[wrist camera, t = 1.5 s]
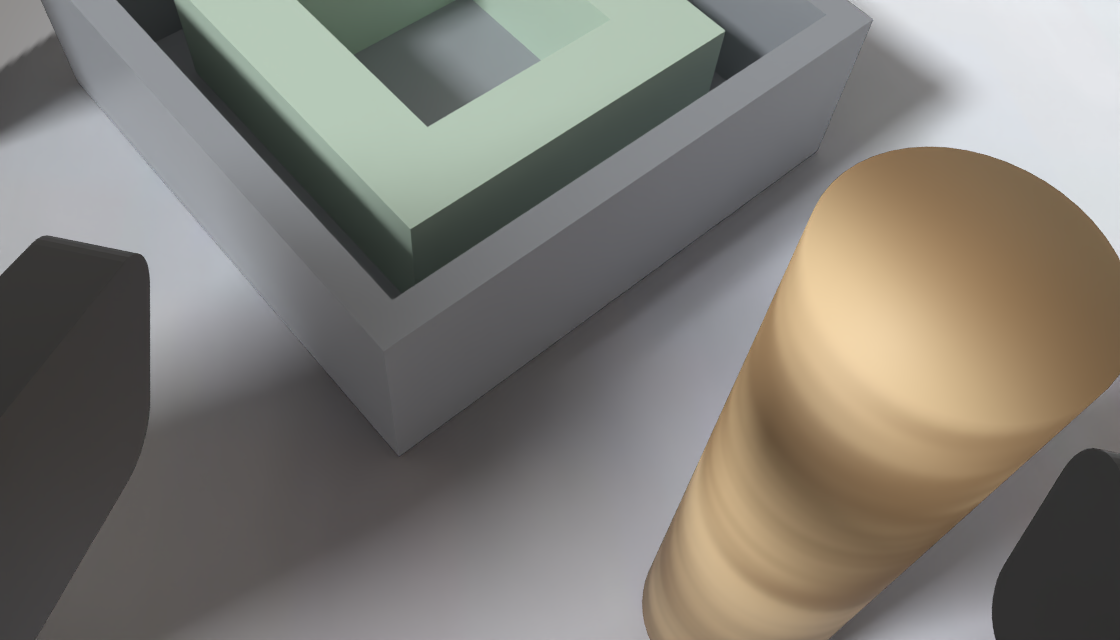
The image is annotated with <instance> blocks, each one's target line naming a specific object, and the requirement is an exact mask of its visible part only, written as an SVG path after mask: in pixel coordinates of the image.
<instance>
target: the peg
mask: <svg viewBox="0 0 1120 640" xmlns="http://www.w3.org/2000/svg"><path fill="white" fill-rule="evenodd" d="M1119 374H1120V260H1119V258H1118V256H1117V254H1116V252H1115V251H1114V249H1113V248H1112V246H1111V244H1110V243H1109V241H1108V240H1107V238H1106V237H1105V236H1104V234H1103V233H1102V232H1101V231H1100V229H1099V228H1098V227H1097V226H1096V224H1095V223H1094V222H1093V221H1092V220H1091V219H1090V218H1089V217H1088V216H1087V215H1086V214H1085V213H1084V212H1083V211H1082V210H1081V209H1080V208H1079V207H1078V206H1077V205H1076V204H1075V203H1073V202H1072V201H1071V200H1070V199H1069V198H1067V197H1066V196H1065V195H1064V194H1063V193H1061V192H1060V191H1058V190H1057V189H1055V188H1054V187H1053V186H1051V185H1050V184H1048V183H1047V182H1045V181H1044V180H1042V179H1040V178H1038V177H1036V176H1035V175H1033V174H1031V173H1029V172H1027V171H1026V170H1023V169H1021V168H1019V167H1017V166H1014V165H1012V164H1010V163H1008V162H1005V161H1002V160H999V159H996V158H993V157H991V156H988V155H984V154H980V153H976V152H971V151H967V150H961V149H954V148H946V147H914V148H905V149H899V150H894V151H889V152H886V153H882V154H879V155H876V156H873V157H871V158H869V159H866V160H864V161H862V162H860V163H858V164H856V165H855V166H853V167H851V168H850V169H848V170H847V171H845V172H844V173H843V174H841V175H840V176H839V177H838V178H837V179H836V180H835V181H834V182H832V183H831V185H830V186H829V187H828V188H827V190H826V191H825V192H824V193H823V194H822V196H821V197H820V199H819V201H818V203H817V205H816V206H815V208H814V210H813V212H812V214H811V216H810V219H809V221H808V223H807V225H806V227H805V230H804V232H803V234H802V236H801V238H800V241H799V243H798V245H797V247H796V249H795V252H794V254H793V256H792V258H791V260H790V263H789V265H788V267H787V269H786V271H785V274H784V276H783V278H782V280H781V282H780V285H779V287H778V289H777V291H776V293H775V295H774V298H773V300H772V302H771V304H770V306H769V309H768V311H767V313H766V315H765V317H764V320H763V322H762V324H761V326H760V328H759V331H758V333H757V335H756V337H755V339H754V342H753V344H752V346H751V348H750V350H749V353H748V355H747V357H746V359H745V361H744V364H743V366H742V368H741V370H740V372H739V375H738V377H737V379H736V381H735V383H734V386H733V388H732V390H731V392H730V394H729V396H728V399H727V401H726V403H725V405H724V407H723V410H722V412H721V414H720V416H719V418H718V421H717V423H716V425H715V427H714V429H713V432H712V434H711V436H710V438H709V440H708V443H707V445H706V447H705V449H704V451H703V454H702V456H701V458H700V460H699V462H698V465H697V467H696V469H695V471H694V473H693V476H692V478H691V480H690V482H689V484H688V487H687V489H686V491H685V493H684V495H683V497H682V500H681V502H680V504H679V506H678V508H677V511H676V513H675V515H674V517H673V519H672V522H671V524H670V526H669V528H668V530H667V533H666V535H665V537H664V539H663V541H662V544H661V546H660V548H659V550H658V552H657V555H656V557H655V559H654V561H653V563H652V566H651V568H650V570H649V572H648V575H647V578H646V581H645V585H644V589H643V599H642V607H643V617H644V623H645V627H646V630H647V633H648V636H649V638H650V640H828V639H829V638H830V637H832V636H833V635H834V634H835V633H836V632H837V631H838V630H839V629H840V628H842V627H843V626H844V625H845V624H846V623H847V622H848V621H849V620H851V619H852V618H853V617H854V616H855V615H856V614H857V613H858V612H859V611H861V610H862V609H863V608H864V607H865V606H866V605H867V604H868V603H869V602H871V601H872V600H873V599H874V598H875V597H876V596H877V595H878V594H879V593H881V592H882V591H883V590H884V589H885V588H886V587H887V586H888V585H890V584H891V583H892V582H893V581H894V580H895V579H896V578H897V577H898V576H900V575H901V574H902V573H903V572H904V571H905V570H906V569H907V568H908V567H910V566H911V565H912V564H913V563H914V562H915V561H916V560H917V559H918V558H920V557H921V556H922V555H923V554H924V553H925V552H926V551H927V550H929V549H930V548H931V547H932V546H933V545H934V544H935V543H936V542H937V541H939V540H940V539H941V538H942V537H943V536H944V535H945V534H946V533H947V532H949V531H950V530H951V529H952V528H953V527H954V526H955V525H956V524H957V523H959V522H960V521H961V520H962V519H963V518H964V517H965V516H966V515H968V514H969V513H970V512H971V511H972V510H973V509H974V508H975V507H976V506H978V505H979V504H980V503H981V502H982V501H983V500H984V499H985V498H986V497H988V496H989V495H990V494H991V493H992V492H993V491H994V490H995V489H997V488H998V487H999V486H1000V485H1001V484H1002V483H1003V482H1004V481H1005V480H1007V479H1008V478H1009V477H1010V476H1011V475H1012V474H1013V473H1014V472H1015V471H1017V470H1018V469H1019V468H1020V467H1021V466H1022V465H1023V464H1024V463H1025V462H1027V461H1028V460H1029V459H1030V458H1031V457H1032V456H1033V455H1034V454H1036V453H1037V452H1038V451H1039V450H1040V449H1041V448H1042V447H1043V446H1044V445H1046V444H1047V443H1048V442H1049V441H1050V440H1051V439H1052V438H1053V437H1054V436H1056V435H1057V434H1058V433H1059V432H1060V431H1061V430H1062V429H1063V428H1064V427H1066V426H1067V425H1068V424H1069V423H1070V422H1071V421H1072V420H1073V419H1075V418H1076V417H1077V416H1078V415H1079V414H1080V413H1081V412H1082V411H1083V410H1085V409H1086V408H1087V407H1088V406H1089V405H1090V404H1091V403H1092V402H1093V401H1095V400H1096V399H1097V398H1098V397H1099V396H1100V395H1101V394H1102V393H1103V392H1105V391H1106V390H1107V389H1108V388H1109V387H1110V386H1111V384H1112V383H1113V382H1114V381H1115V379H1116V378H1117V377H1118V376H1119Z"/></svg>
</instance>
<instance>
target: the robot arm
mask: <svg viewBox="0 0 1120 640" xmlns="http://www.w3.org/2000/svg"><path fill="white" fill-rule="evenodd" d="M149 411H150V277H149V269H148V265H147V262H146V260H145V258H144V257H143V256H142V255H141V254H137V253H132V252H127V251H122V250H117V249H112V248H107V247H102V246H98V245H93V244H88V243H83V242H78V241H73V240H68V239H63V238H58V237H53V236H42V237H40V238H38V239H37V240H36V241H34V242H33V243H32V244H31V245H30V246H29V247H28V248H27V249H26V250H25V251H24V252H23V253H22V254H21V255H20V256H19V257H18V258H17V259H16V260H15V261H14V262H13V263H12V264H11V265H10V266H9V267H8V268H7V269H6V271H5V272H4V273H3V274H2V275H1V276H0V640H35V639H36V637H37V635H38V634H39V632H40V630H41V629H42V627H43V625H44V624H45V622H46V620H47V618H48V617H49V615H50V613H51V612H52V610H53V608H54V606H55V605H56V603H57V601H58V600H59V598H60V596H61V595H62V593H63V591H64V589H65V588H66V586H67V584H68V583H69V581H70V579H71V577H72V576H73V574H74V572H75V571H76V569H77V567H78V565H79V564H80V562H81V560H82V559H83V557H84V555H85V554H86V552H87V550H88V548H89V547H90V545H91V543H92V542H93V540H94V538H95V536H96V535H97V533H98V531H99V530H100V528H101V526H102V525H103V523H104V521H105V519H106V518H107V516H108V514H109V513H110V511H111V509H112V507H113V506H114V504H115V502H116V501H117V499H118V497H119V496H120V494H121V492H122V490H123V489H124V487H125V485H126V484H127V482H128V480H129V478H130V476H131V475H132V473H133V470H134V468H135V466H136V463H137V461H138V458H139V456H140V452H141V449H142V446H143V443H144V439H145V435H146V430H147V425H148V419H149ZM992 621H993V629H994V634H995V638H996V640H1120V453H1116V452H1111V451H1106V450H1101V449H1095V448H1092V449H1086V450H1084V451H1081V452H1079V453H1078V454H1077V455H1075V456H1074V457H1073V458H1072V459H1071V460H1070V461H1069V462H1068V464H1067V465H1066V467H1065V468H1064V469H1063V471H1062V473H1061V474H1060V476H1059V477H1058V479H1057V481H1056V482H1055V484H1054V486H1053V487H1052V489H1051V490H1050V492H1049V494H1048V495H1047V497H1046V498H1045V500H1044V502H1043V503H1042V505H1041V506H1040V508H1039V510H1038V511H1037V513H1036V514H1035V516H1034V518H1033V519H1032V521H1031V522H1030V524H1029V526H1028V527H1027V529H1026V531H1025V532H1024V534H1023V535H1022V537H1021V539H1020V540H1019V542H1018V543H1017V545H1016V547H1015V548H1014V550H1013V551H1012V553H1011V555H1010V556H1009V558H1008V559H1007V561H1006V563H1005V564H1004V566H1003V568H1002V570H1001V572H1000V574H999V577H998V579H997V582H996V586H995V590H994V595H993V603H992Z"/></svg>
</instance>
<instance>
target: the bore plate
mask: <svg viewBox="0 0 1120 640" xmlns="http://www.w3.org/2000/svg"><path fill="white" fill-rule="evenodd" d="M453 1H455V0H174V2H175V6H176V9H177V12H178V15H179V18H180V22H181V25H182V28H183V31H184V34H185V38H186V41H187V44H188V47H189V50H190V54H191V57H192V60H193V63H194V67H195V70H196V72H197V73H198V74H199V76H200V77H201V78H202V79H203V80H204V81H205V82H206V83H207V84H208V85H209V86H210V87H211V88H212V90H213V91H214V92H215V93H216V94H217V95H218V96H219V97H220V98H221V99H222V100H223V101H224V102H225V104H226V105H227V106H228V107H229V108H230V109H231V110H232V111H233V112H234V113H235V114H236V115H237V116H238V118H239V119H240V120H241V121H242V122H243V123H244V124H245V125H246V126H247V127H248V128H249V129H250V130H251V132H252V133H253V134H254V135H255V136H256V137H257V138H258V139H259V140H260V141H261V142H262V143H263V144H264V146H265V147H266V148H267V149H268V150H269V151H270V152H271V153H272V154H273V155H274V156H275V157H276V158H277V160H278V161H279V162H280V163H281V164H282V165H283V166H284V167H285V168H286V169H287V170H288V171H289V172H290V174H291V175H292V176H293V177H294V178H295V179H296V180H297V181H298V182H299V183H300V184H301V185H302V186H303V188H304V189H305V190H306V191H307V192H308V193H309V194H310V195H311V196H312V197H313V198H314V199H315V200H316V202H317V203H318V204H319V205H320V206H321V207H322V208H323V209H324V210H325V211H326V212H327V213H328V214H329V216H330V217H331V218H332V219H333V220H334V221H335V222H336V223H337V224H338V225H339V226H340V227H341V228H342V230H343V231H344V232H345V233H346V234H347V235H348V236H349V237H350V238H351V239H352V240H353V241H354V242H355V244H356V245H357V246H358V247H359V248H360V249H361V250H362V251H363V252H364V253H365V254H366V255H367V256H368V258H369V259H370V260H371V261H372V262H373V263H374V264H375V265H376V266H377V267H378V268H379V269H380V270H381V272H382V273H383V274H384V275H385V276H386V277H387V278H388V279H389V280H390V281H391V282H392V283H393V284H394V285H395V287H396V288H397V289H398V290H399V291H400V292H401V293H404V292H405V291H407V290H408V289H410V288H411V287H413V286H414V285H416V284H417V283H419V282H421V281H422V280H424V279H425V278H427V277H428V276H430V275H431V274H433V273H434V272H436V271H437V270H439V269H440V268H442V267H443V266H445V265H446V264H448V263H449V262H451V261H452V260H454V259H456V258H457V257H459V256H460V255H462V254H463V253H465V252H466V251H468V250H469V249H471V248H472V247H474V246H475V245H477V244H478V243H480V242H481V241H483V240H484V239H486V238H487V237H489V236H491V235H492V234H494V233H495V232H497V231H498V230H500V229H501V228H503V227H504V226H506V225H507V224H509V223H510V222H512V221H513V220H515V219H516V218H518V217H519V216H521V215H522V214H524V213H526V212H527V211H529V210H530V209H532V208H533V207H535V206H536V205H538V204H539V203H541V202H542V201H544V200H545V199H547V198H548V197H550V196H551V195H553V194H554V193H556V192H557V191H559V190H561V189H562V188H564V187H565V186H567V185H568V184H570V183H571V182H573V181H574V180H576V179H577V178H579V177H580V176H582V175H583V174H585V173H586V172H588V171H589V170H591V169H592V168H594V167H596V166H597V165H599V164H600V163H602V162H603V161H605V160H606V159H608V158H609V157H611V156H612V155H614V154H615V153H617V152H618V151H620V150H621V149H623V148H624V147H626V146H627V145H629V144H631V143H632V142H634V141H635V140H637V139H638V138H640V137H641V136H643V135H644V134H646V133H647V132H649V131H650V130H652V129H653V128H655V127H656V126H658V125H659V124H661V123H662V122H664V121H666V120H667V119H669V118H670V117H672V116H673V115H675V114H676V113H678V112H679V111H681V110H682V109H684V108H685V107H687V106H688V105H690V104H691V103H693V102H694V101H696V100H697V99H699V98H701V97H702V96H704V95H705V94H707V93H708V92H709V90H710V86H711V82H712V79H713V75H714V71H715V68H716V64H717V60H718V57H719V53H720V49H721V46H722V42H723V38H724V35H725V30H724V29H723V28H721V27H720V26H719V25H718V24H716V23H715V22H714V21H713V20H711V19H710V18H709V17H707V16H706V15H705V14H704V13H702V12H701V11H700V10H699V9H697V8H696V7H695V6H694V5H692V4H691V3H690V2H689V1H687V0H473V1H474V2H475V3H477V4H478V5H479V6H480V7H481V8H482V9H483V10H484V11H486V12H487V13H488V14H489V15H490V16H491V17H492V18H494V19H495V20H496V21H497V22H498V23H499V24H500V25H501V26H503V27H504V28H505V29H506V30H507V31H508V32H509V33H511V34H512V35H513V36H514V37H515V38H516V39H517V40H518V41H520V42H521V43H522V44H523V45H524V46H525V47H526V48H528V49H529V50H530V51H531V52H532V53H533V54H534V55H535V56H537V57H538V58H539V59H540V60H541V61H539V62H537V63H536V64H534V65H532V66H531V67H529V68H527V69H526V70H524V71H522V72H520V73H519V74H517V75H515V76H514V77H512V78H510V79H509V80H507V81H505V82H503V83H502V84H500V85H498V86H497V87H495V88H493V89H492V90H490V91H488V92H486V93H485V94H483V95H481V96H480V97H478V98H476V99H474V100H473V101H471V102H469V103H468V104H466V105H464V106H463V107H461V108H459V109H457V110H456V111H454V112H452V113H451V114H449V115H447V116H446V117H444V118H442V119H440V120H439V121H437V122H435V123H434V124H432V125H430V126H429V127H427V126H426V125H425V124H424V123H423V122H422V121H421V120H420V119H419V118H418V117H417V116H416V115H415V114H413V113H412V112H411V111H410V110H409V109H408V108H407V107H406V106H405V105H404V104H403V103H402V102H401V101H400V100H399V99H398V98H397V97H396V96H395V95H394V94H393V93H392V92H391V91H390V90H389V89H388V88H387V87H386V86H385V85H384V84H383V83H382V82H381V81H380V80H379V79H378V78H376V77H375V76H374V75H373V74H372V73H371V72H370V71H369V70H368V69H367V68H366V67H365V66H364V65H363V64H362V63H361V62H360V61H359V60H358V59H357V58H356V57H355V56H354V54H356V53H358V52H360V51H362V50H363V49H365V48H367V47H369V46H371V45H373V44H375V43H376V42H378V41H380V40H382V39H384V38H386V37H388V36H390V35H391V34H393V33H395V32H397V31H399V30H401V29H403V28H404V27H406V26H408V25H410V24H412V23H414V22H416V21H418V20H419V19H421V18H423V17H425V16H427V15H429V14H431V13H433V12H434V11H436V10H438V9H440V8H442V7H444V6H446V5H447V4H449V3H451V2H453Z"/></svg>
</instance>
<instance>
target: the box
mask: <svg viewBox="0 0 1120 640" xmlns="http://www.w3.org/2000/svg"><path fill="white" fill-rule="evenodd" d="M687 1H689V2H690V3H691V4H692V5H694V6H695V7H696V8H697V9H699V10H700V11H701V12H702V13H704V14H705V15H706V16H707V17H709V18H710V19H711V20H713V21H714V22H715V23H716V24H718V25H719V26H720V27H721V28H723V29H724V30H725V35H724V38H723V42H722V46H721V49H720V53H719V57H718V60H717V64H716V68H715V71H714V75H713V79H712V82H711V86H710V90H709V92H708V93H707V94H705V95H704V96H702V97H701V98H699V99H697V100H696V101H694V102H693V103H691V104H690V105H688V106H687V107H685V108H684V109H682V110H681V111H679V112H678V113H676V114H675V115H673V116H672V117H670V118H669V119H667V120H666V121H664V122H662V123H661V124H659V125H658V126H656V127H655V128H653V129H652V130H650V131H649V132H647V133H646V134H644V135H643V136H641V137H640V138H638V139H637V140H635V141H634V142H632V143H631V144H629V145H627V146H626V147H624V148H623V149H621V150H620V151H618V152H617V153H615V154H614V155H612V156H611V157H609V158H608V159H606V160H605V161H603V162H602V163H600V164H599V165H597V166H596V167H594V168H592V169H591V170H589V171H588V172H586V173H585V174H583V175H582V176H580V177H579V178H577V179H576V180H574V181H573V182H571V183H570V184H568V185H567V186H565V187H564V188H562V189H561V190H559V191H557V192H556V193H554V194H553V195H551V196H550V197H548V198H547V199H545V200H544V201H542V202H541V203H539V204H538V205H536V206H535V207H533V208H532V209H530V210H529V211H527V212H526V213H524V214H522V215H521V216H519V217H518V218H516V219H515V220H513V221H512V222H510V223H509V224H507V225H506V226H504V227H503V228H501V229H500V230H498V231H497V232H495V233H494V234H492V235H491V236H489V237H487V238H486V239H484V240H483V241H481V242H480V243H478V244H477V245H475V246H474V247H472V248H471V249H469V250H468V251H466V252H465V253H463V254H462V255H460V256H459V257H457V258H456V259H454V260H452V261H451V262H449V263H448V264H446V265H445V266H443V267H442V268H440V269H439V270H437V271H436V272H434V273H433V274H431V275H430V276H428V277H427V278H425V279H424V280H422V281H421V282H419V283H417V284H416V285H414V286H413V287H411V288H410V289H408V290H407V291H405V292H404V293H401V292H400V291H399V290H398V289H397V288H396V287H395V285H394V284H393V283H392V282H391V281H390V280H389V279H388V278H387V277H386V276H385V275H384V274H383V273H382V272H381V270H380V269H379V268H378V267H377V266H376V265H375V264H374V263H373V262H372V261H371V260H370V259H369V258H368V256H367V255H366V254H365V253H364V252H363V251H362V250H361V249H360V248H359V247H358V246H357V245H356V244H355V242H354V241H353V240H352V239H351V238H350V237H349V236H348V235H347V234H346V233H345V232H344V231H343V230H342V228H341V227H340V226H339V225H338V224H337V223H336V222H335V221H334V220H333V219H332V218H331V217H330V216H329V214H328V213H327V212H326V211H325V210H324V209H323V208H322V207H321V206H320V205H319V204H318V203H317V202H316V200H315V199H314V198H313V197H312V196H311V195H310V194H309V193H308V192H307V191H306V190H305V189H304V188H303V186H302V185H301V184H300V183H299V182H298V181H297V180H296V179H295V178H294V177H293V176H292V175H291V174H290V172H289V171H288V170H287V169H286V168H285V167H284V166H283V165H282V164H281V163H280V162H279V161H278V160H277V158H276V157H275V156H274V155H273V154H272V153H271V152H270V151H269V150H268V149H267V148H266V147H265V146H264V144H263V143H262V142H261V141H260V140H259V139H258V138H257V137H256V136H255V135H254V134H253V133H252V132H251V130H250V129H249V128H248V127H247V126H246V125H245V124H244V123H243V122H242V121H241V120H240V119H239V118H238V116H237V115H236V114H235V113H234V112H233V111H232V110H231V109H230V108H229V107H228V106H227V105H226V104H225V102H224V101H223V100H222V99H221V98H220V97H219V96H218V95H217V94H216V93H215V92H214V91H213V90H212V88H211V87H210V86H209V85H208V84H207V83H206V82H205V81H204V80H203V79H202V78H201V77H200V76H199V74H198V73H197V72H196V70H195V67H194V63H193V60H192V57H191V54H190V50H189V47H188V44H187V41H186V38H185V34H184V31H183V28H182V25H181V22H180V18H179V15H178V12H177V9H176V6H175V2H174V0H41V2H42V4H43V6H44V8H45V10H46V13H47V15H48V17H49V19H50V21H51V24H52V26H53V28H54V30H55V33H56V35H57V37H58V39H59V42H60V44H61V46H62V48H63V50H64V53H65V55H66V57H67V59H68V62H69V64H70V66H71V68H72V70H73V73H74V75H75V77H76V79H77V81H78V83H79V84H80V85H81V86H82V87H83V88H84V90H85V91H86V92H87V93H88V94H89V95H90V97H91V98H92V99H93V100H94V101H95V102H96V104H97V105H98V106H99V107H100V108H101V109H102V111H103V112H104V113H105V114H106V115H107V116H108V118H109V119H110V120H111V121H112V122H113V123H114V125H115V126H116V127H117V128H118V129H119V130H120V132H121V133H122V134H123V135H124V136H125V137H126V139H127V140H128V141H129V142H130V143H131V144H132V146H133V147H134V148H135V149H136V150H137V151H138V153H139V154H140V155H141V156H142V157H143V158H144V160H145V161H146V162H147V163H148V164H149V165H150V167H151V168H152V169H153V170H154V171H155V172H156V174H157V175H158V176H159V177H160V178H161V179H162V181H163V182H164V183H165V184H166V185H167V186H168V188H169V189H170V190H171V191H172V192H173V193H174V195H175V196H176V197H177V198H178V199H179V200H180V202H181V203H182V204H183V205H184V206H185V207H186V209H187V210H188V211H189V212H190V213H191V214H192V216H193V217H194V218H195V219H196V220H197V221H198V223H199V224H200V225H201V226H202V227H203V228H204V230H205V231H206V232H207V233H208V234H209V235H210V237H211V238H212V239H213V240H214V241H215V242H216V244H217V245H218V246H219V247H220V248H221V249H222V251H223V252H224V253H225V254H226V255H227V256H228V258H229V259H230V260H231V261H232V262H233V263H234V265H235V266H236V267H237V268H238V269H239V271H240V272H241V273H242V274H243V275H244V276H245V278H246V279H247V280H248V281H249V282H250V283H251V285H252V286H253V287H254V288H255V289H256V290H257V292H258V293H259V294H260V295H261V296H262V297H263V299H264V300H265V301H266V302H267V303H268V304H269V306H270V307H271V308H272V309H273V310H274V311H275V313H276V314H277V315H278V316H279V317H280V318H281V320H282V321H283V322H284V323H285V324H286V325H287V327H288V328H289V329H290V330H291V331H292V332H293V334H294V335H295V336H296V337H297V338H298V339H299V341H300V342H301V343H302V344H303V345H304V346H305V348H306V349H307V350H308V351H309V352H310V353H311V355H312V356H313V357H314V358H315V359H316V360H317V362H318V363H319V364H320V365H321V366H322V367H323V369H324V370H325V371H326V372H327V373H328V374H329V376H330V377H331V378H332V379H333V380H334V381H335V383H336V384H337V385H338V386H339V387H340V388H341V390H342V391H343V392H344V393H345V394H346V395H347V397H348V398H349V399H350V400H351V401H352V402H353V404H354V405H355V406H356V407H357V408H358V409H359V411H360V412H361V413H362V414H363V415H364V416H365V418H366V419H367V420H368V421H369V422H370V423H371V425H372V426H373V427H374V428H375V429H376V430H377V432H378V433H379V434H380V435H381V436H382V437H383V439H384V440H385V441H386V442H387V443H388V444H389V446H390V447H391V448H392V449H393V450H394V451H395V453H396V454H397V455H398V456H401V455H402V454H403V453H405V452H406V451H407V450H409V449H410V448H412V447H413V446H414V445H416V444H417V443H418V442H420V441H421V440H422V439H424V438H425V437H427V436H428V435H429V434H431V433H432V432H433V431H435V430H436V429H438V428H439V427H440V426H442V425H443V424H444V423H446V422H447V421H448V420H450V419H451V418H453V417H454V416H455V415H457V414H458V413H459V412H461V411H462V410H464V409H465V408H466V407H468V406H469V405H470V404H472V403H473V402H474V401H476V400H477V399H479V398H480V397H481V396H483V395H484V394H485V393H487V392H488V391H489V390H491V389H492V388H494V387H495V386H496V385H498V384H499V383H500V382H502V381H503V380H505V379H506V378H507V377H509V376H510V375H511V374H513V373H514V372H515V371H517V370H518V369H520V368H521V367H522V366H524V365H525V364H526V363H528V362H529V361H531V360H532V359H533V358H535V357H536V356H537V355H539V354H540V353H541V352H543V351H544V350H546V349H547V348H548V347H550V346H551V345H552V344H554V343H555V342H557V341H558V340H559V339H561V338H562V337H563V336H565V335H566V334H567V333H569V332H570V331H572V330H573V329H574V328H576V327H577V326H578V325H580V324H581V323H583V322H584V321H585V320H587V319H588V318H589V317H591V316H592V315H593V314H595V313H596V312H598V311H599V310H600V309H602V308H603V307H604V306H606V305H607V304H609V303H610V302H611V301H613V300H614V299H615V298H617V297H618V296H619V295H621V294H622V293H624V292H625V291H626V290H628V289H629V288H630V287H632V286H633V285H634V284H636V283H637V282H639V281H640V280H641V279H643V278H644V277H645V276H647V275H648V274H650V273H651V272H652V271H654V270H655V269H656V268H658V267H659V266H660V265H662V264H663V263H665V262H666V261H667V260H669V259H670V258H671V257H673V256H674V255H676V254H677V253H678V252H680V251H681V250H682V249H684V248H685V247H686V246H688V245H689V244H691V243H692V242H693V241H695V240H696V239H697V238H699V237H700V236H702V235H703V234H704V233H706V232H707V231H708V230H710V229H711V228H712V227H714V226H715V225H717V224H718V223H719V222H721V221H722V220H723V219H725V218H726V217H728V216H729V215H730V214H732V213H733V212H734V211H736V210H737V209H738V208H740V207H741V206H743V205H744V204H745V203H747V202H748V201H749V200H751V199H752V198H754V197H755V196H756V195H758V194H759V193H760V192H762V191H763V190H764V189H766V188H767V187H769V186H770V185H771V184H773V183H774V182H775V181H777V180H778V179H779V178H781V177H782V176H784V175H785V174H786V173H788V172H789V171H790V170H792V169H793V168H795V167H796V166H797V165H799V164H800V163H801V162H803V161H804V160H805V159H807V158H808V157H810V156H811V155H812V154H814V153H815V152H816V151H817V150H818V148H819V145H820V143H821V141H822V138H823V136H824V134H825V131H826V129H827V127H828V124H829V122H830V120H831V117H832V115H833V113H834V110H835V108H836V106H837V103H838V101H839V99H840V96H841V94H842V92H843V89H844V87H845V84H846V82H847V80H848V77H849V75H850V73H851V70H852V68H853V66H854V63H855V61H856V59H857V56H858V54H859V52H860V49H861V47H862V45H863V42H864V40H865V38H866V35H867V33H868V31H869V28H870V26H871V24H872V21H873V19H872V18H871V17H869V16H868V15H867V14H865V13H864V12H863V11H861V10H860V9H859V8H857V7H856V6H854V5H853V4H852V3H850V2H849V1H848V0H687ZM354 56H355V57H356V58H357V59H358V60H359V61H360V62H361V63H362V64H363V65H364V66H365V67H366V68H367V69H368V70H369V71H370V72H371V73H372V74H373V75H374V76H375V77H376V78H378V79H379V80H380V81H381V82H382V83H383V84H384V85H385V86H386V87H387V88H388V89H389V90H390V91H391V92H392V93H393V94H394V95H395V96H396V97H397V98H398V99H399V100H400V101H401V102H402V103H403V104H404V105H405V106H406V107H407V108H408V109H409V110H410V111H411V112H412V113H413V114H415V115H416V116H417V117H418V118H419V119H420V120H421V121H422V122H423V123H424V124H425V125H426V126H427V127H429V126H430V125H432V124H434V123H435V122H437V121H439V120H440V119H442V118H444V117H446V116H447V115H449V114H451V113H452V112H454V111H456V110H457V109H459V108H461V107H463V106H464V105H466V104H468V103H469V102H471V101H473V100H474V99H476V98H478V97H480V96H481V95H483V94H485V93H486V92H488V91H490V90H492V89H493V88H495V87H497V86H498V85H500V84H502V83H503V82H505V81H507V80H509V79H510V78H512V77H514V76H515V75H517V74H519V73H520V72H522V71H524V70H526V69H527V68H529V67H531V66H532V65H534V64H536V63H537V62H539V61H541V60H540V59H539V58H538V57H537V56H535V55H534V54H533V53H532V52H531V51H530V50H529V49H528V48H526V47H525V46H524V45H523V44H522V43H521V42H520V41H518V40H517V39H516V38H515V37H514V36H513V35H512V34H511V33H509V32H508V31H507V30H506V29H505V28H504V27H503V26H501V25H500V24H499V23H498V22H497V21H496V20H495V19H494V18H492V17H491V16H490V15H489V14H488V13H487V12H486V11H484V10H483V9H482V8H481V7H480V6H479V5H478V4H477V3H475V2H474V1H473V0H455V1H453V2H451V3H449V4H447V5H446V6H444V7H442V8H440V9H438V10H436V11H434V12H433V13H431V14H429V15H427V16H425V17H423V18H421V19H419V20H418V21H416V22H414V23H412V24H410V25H408V26H406V27H404V28H403V29H401V30H399V31H397V32H395V33H393V34H391V35H390V36H388V37H386V38H384V39H382V40H380V41H378V42H376V43H375V44H373V45H371V46H369V47H367V48H365V49H363V50H362V51H360V52H358V53H356V54H354Z"/></svg>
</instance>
